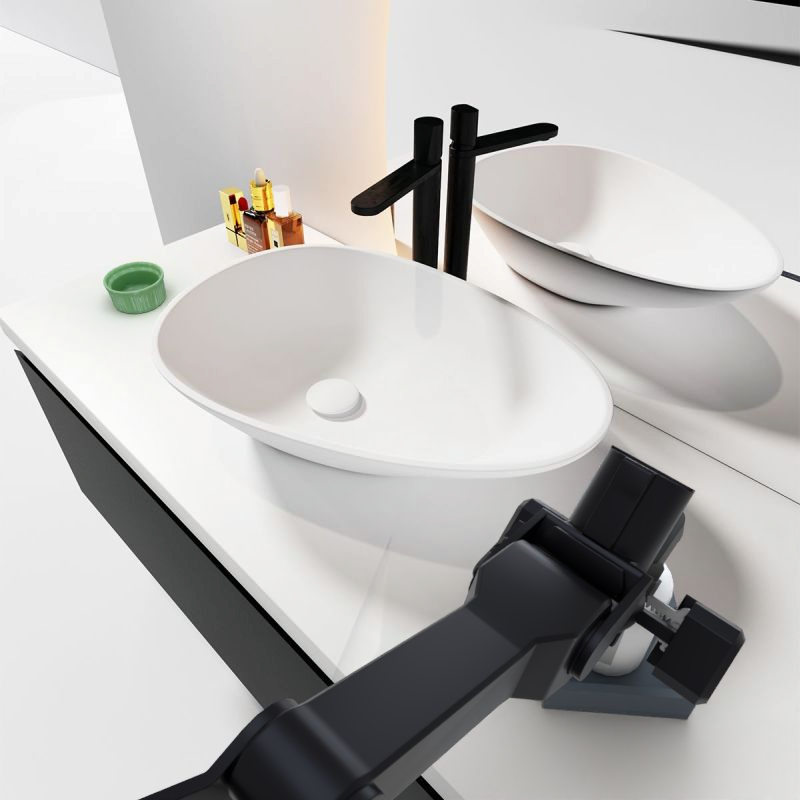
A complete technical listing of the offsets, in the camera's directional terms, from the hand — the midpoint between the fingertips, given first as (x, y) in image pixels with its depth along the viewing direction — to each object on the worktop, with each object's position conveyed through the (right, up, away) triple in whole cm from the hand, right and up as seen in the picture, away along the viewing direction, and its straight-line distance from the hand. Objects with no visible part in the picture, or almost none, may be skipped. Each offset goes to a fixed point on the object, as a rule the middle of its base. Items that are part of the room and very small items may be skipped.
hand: (631, 587), depth 61 cm
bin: (-1, -7, +5) cm, 9 cm away
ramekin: (-61, +32, +49) cm, 85 cm away
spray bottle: (-1, -7, +5) cm, 8 cm away
